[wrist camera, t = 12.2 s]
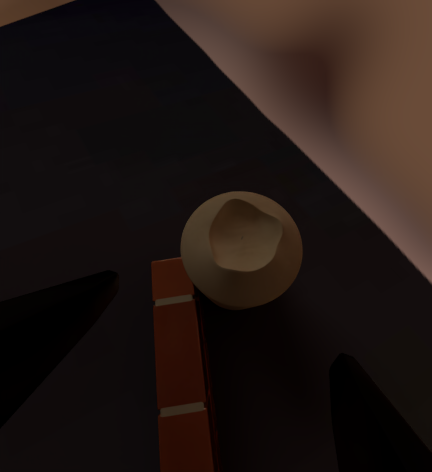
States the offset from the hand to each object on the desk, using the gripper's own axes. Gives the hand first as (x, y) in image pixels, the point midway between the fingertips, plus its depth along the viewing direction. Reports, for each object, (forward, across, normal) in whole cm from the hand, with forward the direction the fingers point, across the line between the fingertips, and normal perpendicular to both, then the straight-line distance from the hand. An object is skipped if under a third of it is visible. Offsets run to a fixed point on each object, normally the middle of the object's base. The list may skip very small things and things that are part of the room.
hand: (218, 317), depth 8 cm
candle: (+9, 0, +4) cm, 10 cm away
